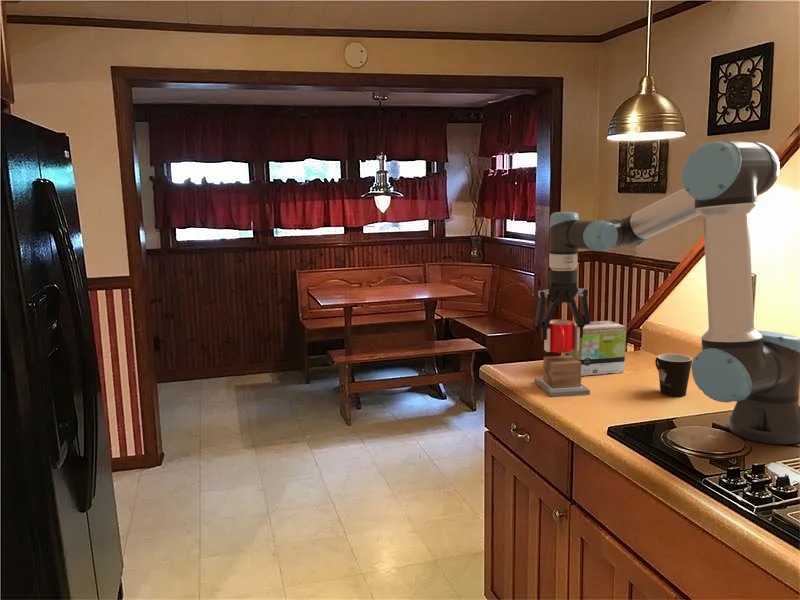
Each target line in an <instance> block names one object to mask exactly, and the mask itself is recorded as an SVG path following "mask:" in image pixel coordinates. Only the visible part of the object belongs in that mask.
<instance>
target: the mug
mask: <svg viewBox="0 0 800 600" xmlns="http://www.w3.org/2000/svg"><path fill="white" fill-rule="evenodd" d="M574 323H575V321H573V320H569V319H558V318H556V319H555V318H554V319H551V320H550V323H549V325H548V328H549V329H550V352H551V353H559V354H562V353H563V354H565V353H566V352H571V351H573V350H574ZM550 352H549V353H550Z"/></svg>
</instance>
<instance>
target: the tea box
mask: <svg viewBox="0 0 800 600" xmlns="http://www.w3.org/2000/svg"><path fill="white" fill-rule="evenodd" d="M574 326H577V324H576V322H574ZM626 339H627V326H626V325H624V324H623V325H622V324H620V323H617V322H614V321H611V320H600V321H599V320H598V321H595V320H594V321H590V324H587V325H585V327H583V337H582V338H580V348H579V351H577V350H575V349H574V350H573V351H571V352H566V353H564V354H565V355H564V356H572V357H574V358H575V359H577V360H578V361H580V362H581V377H583V376H585V377H586V376H596V375H608V374H607V373H612V374H618V373H617V372H623V373H625V362H626V343H627V342H626V341H627V340H626Z"/></svg>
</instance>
